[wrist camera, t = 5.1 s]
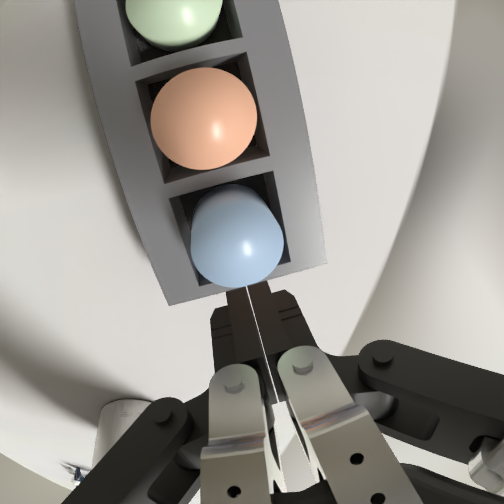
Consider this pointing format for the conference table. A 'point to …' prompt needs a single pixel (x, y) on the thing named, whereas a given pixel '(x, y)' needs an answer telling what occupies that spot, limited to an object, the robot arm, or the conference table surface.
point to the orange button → (203, 118)
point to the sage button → (174, 21)
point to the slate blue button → (234, 236)
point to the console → (188, 180)
